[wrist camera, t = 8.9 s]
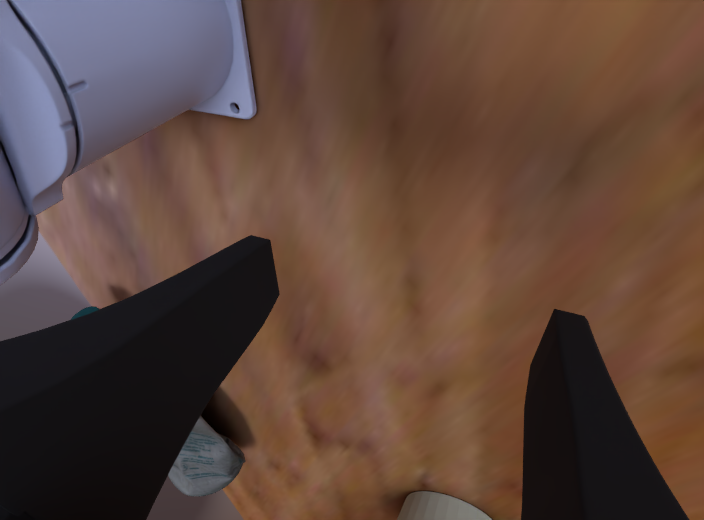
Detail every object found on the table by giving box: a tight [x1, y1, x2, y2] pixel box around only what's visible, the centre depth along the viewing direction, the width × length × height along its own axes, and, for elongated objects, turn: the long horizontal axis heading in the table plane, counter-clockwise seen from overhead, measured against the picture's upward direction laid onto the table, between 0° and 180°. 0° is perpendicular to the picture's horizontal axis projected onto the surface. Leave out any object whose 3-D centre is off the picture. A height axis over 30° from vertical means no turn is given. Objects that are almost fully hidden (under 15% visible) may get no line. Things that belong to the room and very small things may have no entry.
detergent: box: [71, 307, 245, 496], centre depth 42 cm, size 13×7×25 cm
